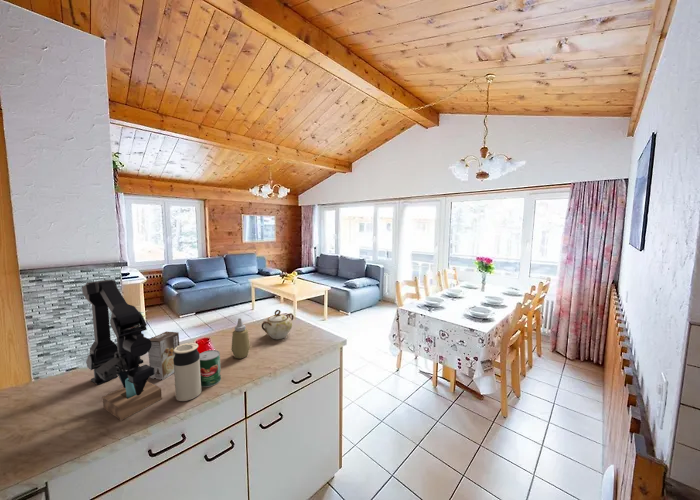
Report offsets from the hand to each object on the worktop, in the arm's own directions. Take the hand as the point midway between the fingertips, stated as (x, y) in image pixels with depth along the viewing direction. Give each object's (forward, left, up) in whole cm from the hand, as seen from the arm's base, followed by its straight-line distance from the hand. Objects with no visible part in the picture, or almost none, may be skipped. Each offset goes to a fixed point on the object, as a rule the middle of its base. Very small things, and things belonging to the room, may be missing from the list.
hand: (132, 391), depth 94 cm
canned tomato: (+11, +21, -5) cm, 24 cm away
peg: (0, 0, -4) cm, 5 cm away
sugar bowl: (+5, +66, -5) cm, 66 cm away
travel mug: (+12, +12, -5) cm, 18 cm away
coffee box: (-10, +16, -5) cm, 19 cm away
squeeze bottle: (+5, +41, -5) cm, 42 cm away
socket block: (0, 0, -4) cm, 4 cm away
